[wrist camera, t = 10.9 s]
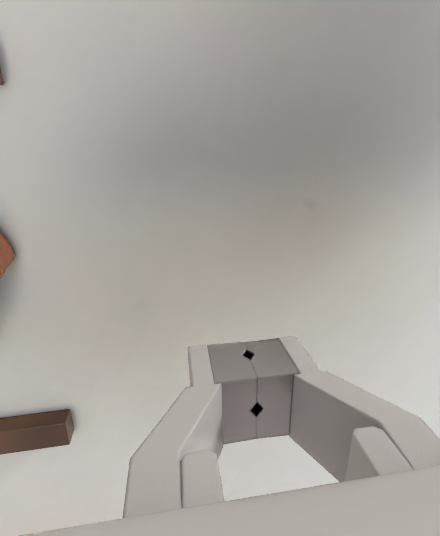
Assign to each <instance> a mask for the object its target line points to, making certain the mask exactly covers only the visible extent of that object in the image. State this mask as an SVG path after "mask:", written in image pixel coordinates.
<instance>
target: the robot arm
mask: <svg viewBox="0 0 440 536" xmlns="http://www.w3.org/2000/svg"><path fill="white" fill-rule="evenodd" d="M188 360H189V376H190V387H186V388H185V389H184V390H183V392H182V393H181V394H180V396H179V397H178V398H177V399H176V401H175V402H174V403H173V405H172V406H171V407H170V408H169V410H168V411H167V412H166V414H165V415H164V416H163V417H162V419H161V420H160V421H159V422H158V424H157V425H156V426H155V428H154V429H153V430H152V431H151V433H150V434H149V435H148V437H147V438H146V439H145V440H144V442H143V443H142V444H141V446H140V447H139V448H138V449H137V451H136V452H135V453H134V454H133V456H132V457H131V458H130V463H129V471H128V479H127V487H126V495H125V503H124V510H123V518H122V519H116V520H110V521H104V522H98V523H92V524H86V525H80V526H74V527H68V528H62V529H56V530H50V531H44V532H38V533H32V534H26V535H20V536H440V438H439V437H438V436H437V435H436V434H435V433H434V432H433V431H432V430H431V429H430V428H429V427H428V425H427V424H426V423H425V422H424V421H423V420H422V419H421V418H420V417H418V416H416V415H414V414H412V413H410V412H408V411H406V410H404V409H402V408H400V407H398V406H396V405H394V404H392V403H390V402H388V401H386V400H384V399H382V398H380V397H378V396H376V395H374V394H372V393H370V392H368V391H366V390H364V389H362V388H360V387H358V386H356V385H354V384H352V383H350V382H348V381H346V380H344V379H342V378H340V377H338V376H336V375H334V374H332V373H330V372H328V371H320V370H319V368H318V367H317V365H316V364H315V362H314V361H313V359H312V358H311V357H310V355H309V354H308V352H307V351H306V349H305V348H304V346H303V345H302V343H301V342H300V341H299V339H298V338H297V337H296V336H288V337H281V338H275V339H267V340H259V341H251V342H237V343H224V344H212V345H207V346H206V345H200V346H191V347H188ZM284 435H290V437H291V438H292V439H293V440H294V441H295V442H296V443H297V444H298V445H299V446H301V447H302V448H303V449H304V450H305V451H306V452H307V453H308V454H309V455H311V456H312V457H313V458H314V459H315V460H316V461H317V462H318V463H319V464H321V465H322V466H323V467H324V468H325V469H326V470H327V471H328V472H329V473H331V474H332V475H333V476H334V477H335V478H336V479H337V480H338V481H339V482H338V483H332V484H326V485H320V486H314V487H308V488H302V489H296V490H290V491H284V492H278V493H272V494H266V495H260V496H254V497H248V498H242V499H236V500H230V501H224V495H223V489H222V484H221V478H220V472H219V466H218V458H219V455H220V453H221V451H222V448H223V444H228V443H234V442H240V441H245V440H251V439H258V438H266V437H275V436H284Z"/></svg>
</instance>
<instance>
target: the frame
mask: <svg viewBox="0 0 440 536" xmlns="http://www.w3.org/2000/svg"><path fill="white" fill-rule="evenodd" d="M0 85H3V80H2V75H1V70H0ZM73 431H74V429H73V424H72V419H71V414H70V410H63V411H55V412H47V413H39V414H31V415H24V416H16V417H8V418H0V454H7V453H14V452H21V451H27V450H34V449H41V448H48V447H55V446H62V445H69V444H70V441H71V438H72V434H73Z"/></svg>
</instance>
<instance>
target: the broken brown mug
mask: <svg viewBox="0 0 440 536" xmlns="http://www.w3.org/2000/svg"><path fill="white" fill-rule="evenodd" d="M13 259H14V252H13V250H12V248H11V246H10V244H9V243H8V242H7V241H6V239H5V238H4V237H3V235H2V234H1V233H0V279H1V277H2V276H3V275H4V273H5V270H6V269H7V267H8V266H9V265H10V263H11V261H12V260H13Z"/></svg>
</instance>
